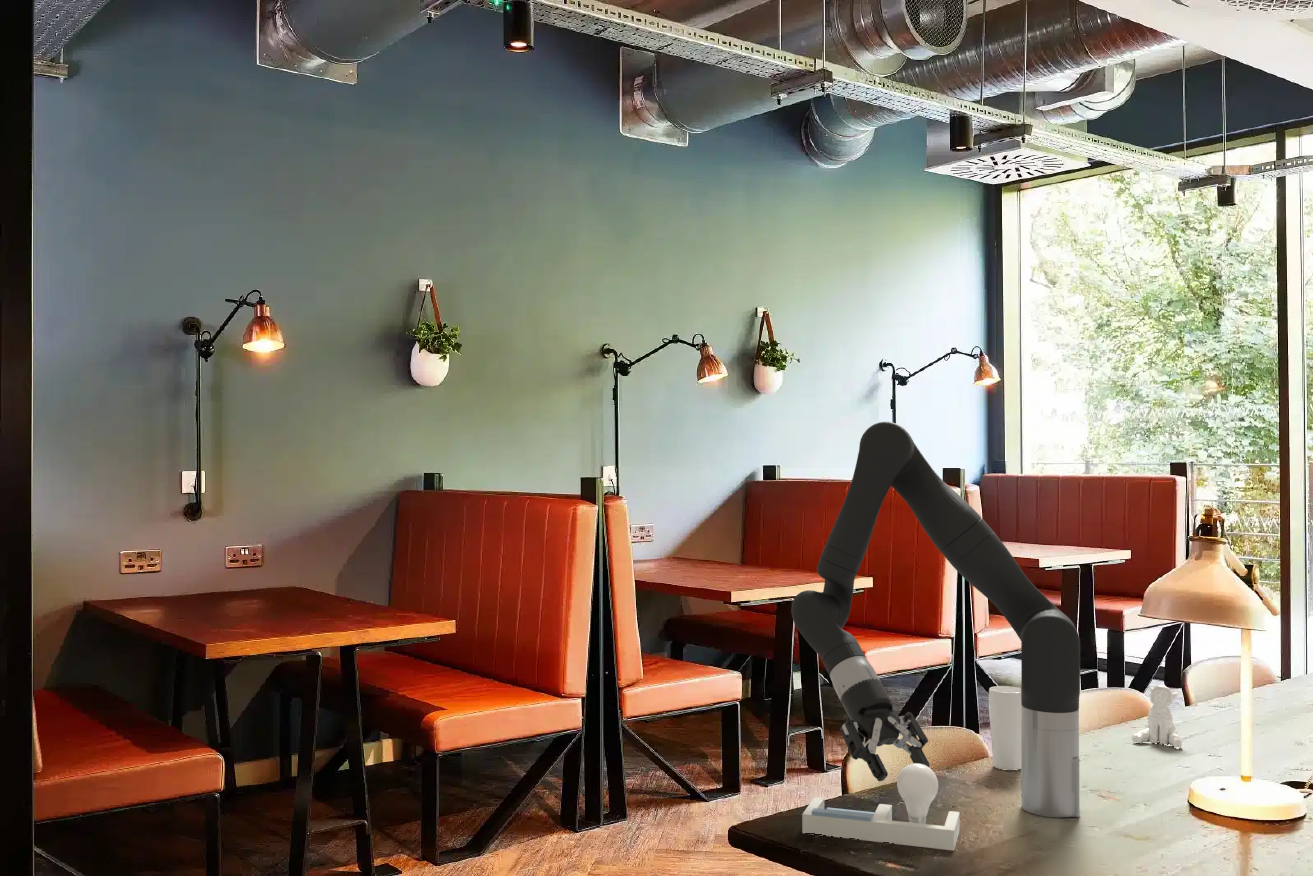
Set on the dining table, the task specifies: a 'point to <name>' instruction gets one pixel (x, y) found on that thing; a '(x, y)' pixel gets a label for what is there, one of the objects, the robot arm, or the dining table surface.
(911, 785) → the lightbulb
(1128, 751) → the dining table surface
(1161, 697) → the white creature statuette
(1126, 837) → the dining table surface
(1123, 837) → the dining table surface
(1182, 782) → the dining table surface
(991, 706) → the drinking glass
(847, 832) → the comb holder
